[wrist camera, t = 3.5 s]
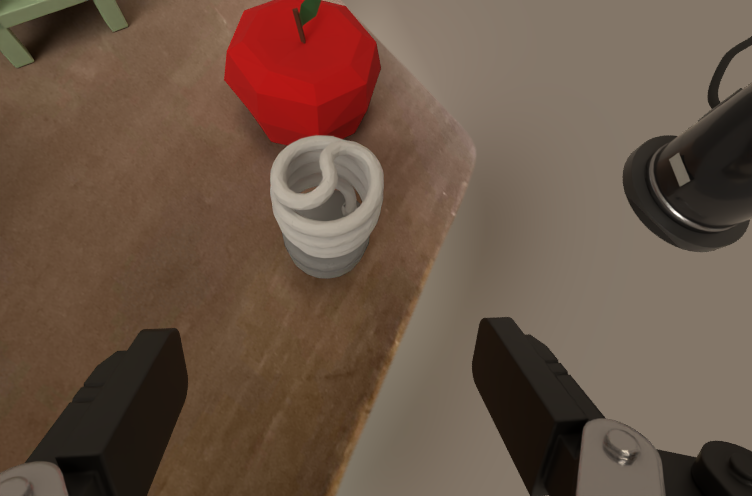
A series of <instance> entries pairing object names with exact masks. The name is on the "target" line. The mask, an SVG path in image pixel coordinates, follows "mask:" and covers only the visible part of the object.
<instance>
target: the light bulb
mask: <svg viewBox="0 0 752 496" xmlns="http://www.w3.org/2000/svg"><path fill="white" fill-rule="evenodd" d="M270 183H271V188H270V195H271V200H272V207H273V213H274V216H275V218H276V220H277V222H278V224H279V226H280V228H281V231H282V234H283V239H284V244H285V247H286V249H287V251H288V252H289V254H290V256H291V258H292V260H293V261H294V263H295V264H296V266H297V267H299V268H300V269H301V270H303V271H304V272H305V273H307V274H308V275H311V276H314V277H317V278H334V277H339V276H342V275H343V274H345V273H347V272H349V271H351V270H352V269H353V268H354V267H355V266H356V265H357V263H358V262H359V261H360V260H361V258H362V256H363V254H364V252H365V250H366V248H367V246H368V244H369V235H370V233H371V232H372V231H373V229H374V227H375V226H376V224H377V221H378V218H379V215H380V211H381V206H382V202H383V190H384V174H383V169H382V167H381V165H380V162H379V161H378V159H377V158H376V156H375V155H374V154H373V153H372V152H371V151H370V150H369V149H368V148H366V147H364V146H363V145H361V144H359V143H357V142H354V141H346V140H343V139H340V138H337V137H334V136H324V135H316V136H310V137H305V138H301V139H299V140H297V141H295V142H293V143H291V144H289V145H288V146H287V147H286V148H285V149H284V150H282V151H281V152H280V153H279V155H278V156H277V158H276V159H275V161H274V163H273V166H272V169H271V176H270ZM352 185H353V186H352ZM315 186H318V187H317V188H316V189H315V190H313V191H311V192H308V193H306V194H300V193H301V192H302V191H304V190H305V189H308V188H311V187H315ZM353 187H354V188H355V189H356V191H357V192H358V193H359V195H360V197H361V200H362V204H360V203H359V202H358V201H356V195H355V191H354V188H353ZM335 189H337V190H335ZM338 190H339V191H338Z"/></svg>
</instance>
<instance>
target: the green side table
mask: <svg viewBox="0 0 752 496" xmlns="http://www.w3.org/2000/svg"><path fill="white" fill-rule="evenodd" d="M85 1H88V0H0V51H1V52H2V53H3V54H4V56H5V57H6V58H7V59H8V60H9V61H10V62H11V63H12V64H13V65H14V66H15V67H16V68H19V67H21V66H24V65H27V64H29V63H32V62H34V59H33V57H32V56H31V54H30V53H29V51H28V50H27V49H26V47H25V46H24V45H23V44H22V43H21V42H20V40H19V39H18V38H17V37H16V36H15V35H14V33H13V32H12V31H11V30H10V29H9V27H12V26H15V25H18V24H21V23H24V22H27V21H30V20H33V19H36V18H38V17H41V16H44V15H47V14H50V13H53V12H56V11H59V10H62V9H65V8H68V7H71V6H74V5H77V4H79V3H82V2H85ZM93 2H94V3H95V5H96V7H97V9H98V10H99V12H100V14H101V15H102V17H103V19H104V21H105V22H106V24H107V25H108V26H109V28H110V29H111V30H112V31H113V32H115V31H117V30H120V29H123V28H125V27H128V24H127V22H126V20H125V18H124V16H123V14H122V12H121V10H120V8H119V6H118V4H117V3H116V1H115V0H93Z"/></svg>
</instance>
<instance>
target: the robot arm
mask: <svg viewBox="0 0 752 496" xmlns="http://www.w3.org/2000/svg"><path fill="white" fill-rule="evenodd" d="M751 45H752V36H751V37H750V38H748V39H747V40H745V41H743V42H742V43H740V44H738V45H736V46H735V47H734V48H732V49H731V50H730V51H728V52H727V53H726V54H725V56H724V57H723V58H722V60H721V62H720V63H719V65H718V67H717V69H716V71H715V73H714V75H713V77H712V80H711V83H710V86H709V90H708V103H709V105H710V107H711V108H712V110H710V111H709V112H708V113H707V114H705V115H704V116H703V117H702V118H701V119H700V120H698V122H697V123H696V124H694V125H693V126H691V127H690V128H688V129H687V130H686V131H684V132H683V133H682V134H680V135H679V136H678V137H676V138H675V139H673V140H672V141H671V142H669V143H667V144H665V145H663V146H662V147H661V148H659V149H658V150H657V151H655V152H654V153H653V154H652V155H651V156H650V157H649V159H648V161H647V163H646V167H645V180H646V185H647V188H648V191H649V193H650V195H651V197H652V199H653V200H654V202H655V203H656V205H657V206H658V207H659V208H660V210H661V211H662V212H663V213H664V214H665V215H666V216H667V217H669V218H670V219H671V220H672V221H674V222H675V223H677V224H678V225H680V226H682V227H684V228H686V229H688V230H691V231H694V232H697V233H702V234H716V233H720V232H723V231H725V230H728V229H730V228H733V227H735V226H736V225H738V224H739V223H742V222H744V221H747V220H749V219H751V218H752V83H750V84H749V85H748V86H746V87H745V88H744V89H742V88H740V89H739V90H737V91H736V92H735V93H733V94H732V95H731V96H729V97H728V98H727V99H725V100H724V101H723V102H721V103H720V101H719V98H718V88H719V84H720V81H721V79H722V76H723V74H724V72H725V70H726V68H727V66H728V64H729V63H730V61H731V60H732V58H733V57H734V56H735V55H736V54H737V53H739V52H740V51H742V50H744V49H746V48H747V47H749V46H751ZM472 373H473V378H474V382H475V384H476V387H477V389H478V391H479V393H480V395H481V396H482V399H483V401H484V403H485V405H486V407H487V409H488V411H489V413H490V415H491V417H492V419H493V421H494V423H495V425H496V427H497V429H498V431H499V433H500V435H501V437H502V439H503V441H504V444H505V445H506V448H507V450H508V452H509V454H510V456H511V458H512V460H513V462H514V464H515V466H516V468H517V470H518V472H519V474H520V476H521V478H522V480H523V482H524V484H525V486H526V488H527V490H528V492H529V494H530V496H545V495H549V496H752V452H751V451H750V450H747V449H745V448H743V447H740V446H738V445H735V444H732V443H728V442H723V441H710V442H708V443H706V444H705V445H704V446H703V447H702V449H701V451H700V453H699V455H698V456H697V458H696V457H691V456H687V455H682V454H676V453H672V452H667V451H662V450H657V449H655V447H654V446H653V445H652V444H651V442H650V441H648V440H647V439H646V438H645V437H644V436H643V435H642V434H640V433H639V432H638V431H636V430H635V429H633V428H631V427H629V426H627V425H625V424H623V423H621V422H618V421H615V420H610V419H606V418H605V417H604V416H603V415H602V413H601V412H600V411H599V410H598V408H597V407H596V406H595V405H594V404H593V402H592V401H591V400H590V399H589V397H588V396H587V395H586V394H585V392H584V391H583V390H582V389H581V388H580V386H579V385H578V384H577V383H576V381H575V380H574V379H573V378H572V377H571V375H568V372H567V370H566V369H565V368H564V367H563V366H562V364H561V363H558V360H557V358H556V357H555V356H554V354H553V353H552V352H551V351H550V350H549V348H548V347H547V346H546V345H544V344H543V343H541V342H540V341H539V340H537V339H536V338H534V337H533V336H531V335H524V333H523V332H522V331H521V329H520V328H519V327H518V326H517V324H516V323H515V322H514V320H513V319H512V318H510V317H502V318H483V319H482V320H481V321H480V324H479V329H478V334H477V340H476V345H475V350H474V355H473V361H472ZM187 389H188V375H187V369H186V364H185V359H184V354H183V349H182V343H181V338H180V334H179V331H178V330H177V329H176V328H166V329H143V330H142V331H140V333H139V334H138V335H137V337H136V338H135V340H134V341H133V343H132V344H131V346H130V347H129V349H128V350H127V351H117V352H115V353H114V354H113V355H111V356H110V357H109V358H107V359H106V360H105V361H103V362H102V363H101V364H99V365H98V366H97V367H96V368H95V369H94V371H93V372H92V373H91V375H90V376H89V378H88V379H87V380H86V382H85V383H84V387H81V388H80V390H79V391H78V392H77V394H76V395H75V396H74V398H73V401H72V403H69V404H68V406H67V407H66V408H65V410H64V411H63V412H62V414H61V415H60V416H59V418H58V419H57V420H56V422H55V423H54V424H53V426H52V427H51V428H50V430H49V431H48V433H47V434H46V435H45V437H44V438H43V439H42V441H41V442H40V443H39V445H38V446H37V447H36V449H35V450H34V451H33V453H32V454H31V455H30V457H29V458H28V459H27V461H26V462H25V463H24V464H21V465H18V466H15V467H12V468H10V469H8V470H5V471H3V472H1V473H0V496H147V494H148V491H149V489H150V486H151V484H152V481H153V479H154V476H155V474H156V471H157V469H158V466H159V464H160V461H161V459H162V457H163V454H164V452H165V449H166V447H167V444H168V442H169V439H170V437H171V434H172V432H173V429H174V427H175V424H176V422H177V419H178V417H179V414H180V412H181V409H182V407H183V405H184V402H185V399H186V395H187Z"/></svg>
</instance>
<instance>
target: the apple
mask: <svg viewBox="0 0 752 496" xmlns="http://www.w3.org/2000/svg"><path fill="white" fill-rule="evenodd" d="M380 70H381V66H380V60H379V55H378V49H377V44H376V41H375V40H374V39H373V38H372V37H371V35H370V34H369V33H368V32H367V31H366V30H365V28H364V27H363V26H362V25H361V24H360V23H359V21H358V20H357V19H356V18H355V17H354V16H353V14H352V13H351V12H350V11H349V10H348V8H347V7H346V6H342V5H338V4H334V3H330V2H326V1H322V0H273V1H270V2H267V3H265V4H262V5H259V6H256V7H253V8H250V9H247V10H245V11H244V12H243V14H242V17H241V19H240V22H239V24H238V26H237V29H236V31H235V33H234V36H233V38H232V40H231V43H230V45H229V47H228V50H227V55H226V66H225V77H224V80H225V82H226V83H227V84H228V85H229V86H230V88H231V89H232V90H233V91H234V92H235V94H236V95H237V96H238V97H239V98H240V100H241V101H242V102H243V103H244V104H245V106H246V107H247V108H248V109H249V111H250V112H251V114H252V115H253V116H254V118H255V119H256V121H257V122H258V124H259V125H260V126H261V128H262V129H263V131H264V132H265V134H266V135H267V136H268V138H269V139H270V141H271V142H275V143H279V144H284V145H289V144H291V143H293V142H295V141H297V140H299V139H301V138H305V137H310V136H316V135H324V136H334V137H337V138H340V139H343V138H345V137H347V136H349V135H351V134H353V133H355V132H356V130H357V128H358V126H359V124H360V122H361V121H362V119H363V117H364V115H365V113H366V111H367V109H368V106H369V103H370V100H371V97H372V94H373V91H374V88H375V85H376V82H377V79H378V76H379V73H380Z"/></svg>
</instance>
